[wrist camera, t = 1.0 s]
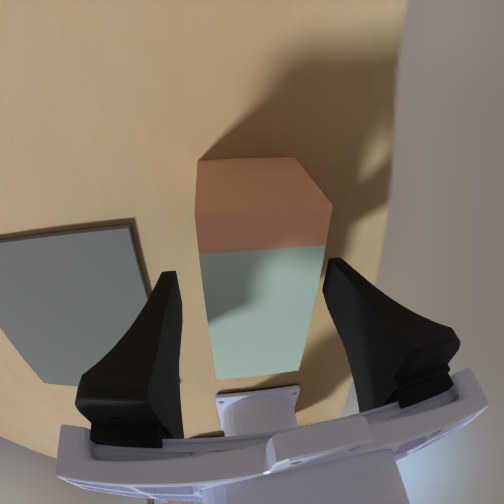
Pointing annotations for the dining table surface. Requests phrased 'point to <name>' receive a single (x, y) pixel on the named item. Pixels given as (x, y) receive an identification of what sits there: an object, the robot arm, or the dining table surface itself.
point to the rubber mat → (69, 297)
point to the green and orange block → (259, 260)
